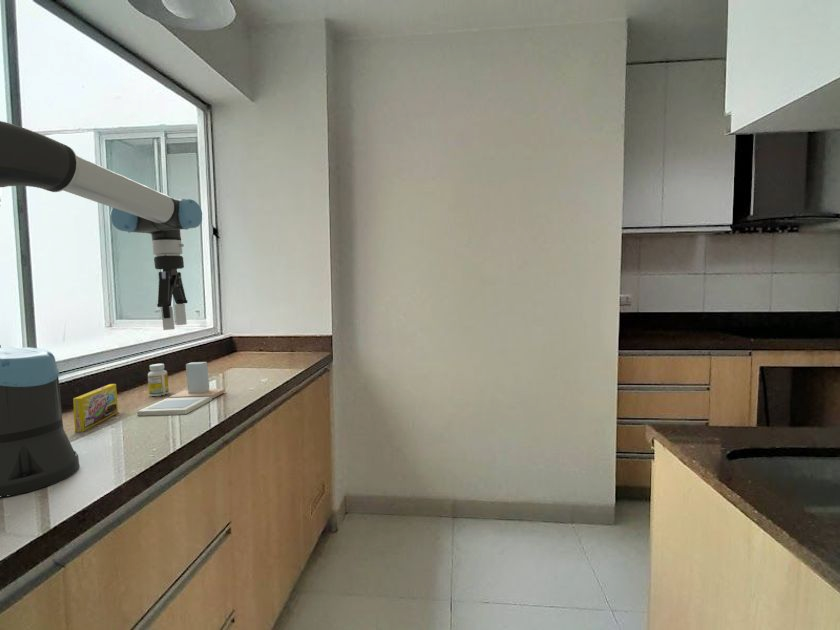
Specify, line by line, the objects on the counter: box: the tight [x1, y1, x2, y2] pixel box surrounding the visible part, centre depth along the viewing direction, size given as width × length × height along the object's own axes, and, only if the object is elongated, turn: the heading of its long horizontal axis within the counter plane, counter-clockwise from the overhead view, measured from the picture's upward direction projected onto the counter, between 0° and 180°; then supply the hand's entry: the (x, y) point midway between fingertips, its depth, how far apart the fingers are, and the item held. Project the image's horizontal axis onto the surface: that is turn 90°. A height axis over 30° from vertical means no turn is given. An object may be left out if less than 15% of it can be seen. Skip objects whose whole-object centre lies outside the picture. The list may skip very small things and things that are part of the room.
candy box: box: [72, 383, 119, 433], centre depth 114 cm, size 16×2×8 cm, turn 8°
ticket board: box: [136, 396, 213, 417], centre depth 125 cm, size 14×13×1 cm
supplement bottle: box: [147, 363, 170, 397], centre depth 141 cm, size 5×5×10 cm
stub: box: [169, 361, 226, 400], centre depth 135 cm, size 8×13×10 cm, turn 88°
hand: (175, 327), depth 133 cm, fingers open, 13 cm apart
